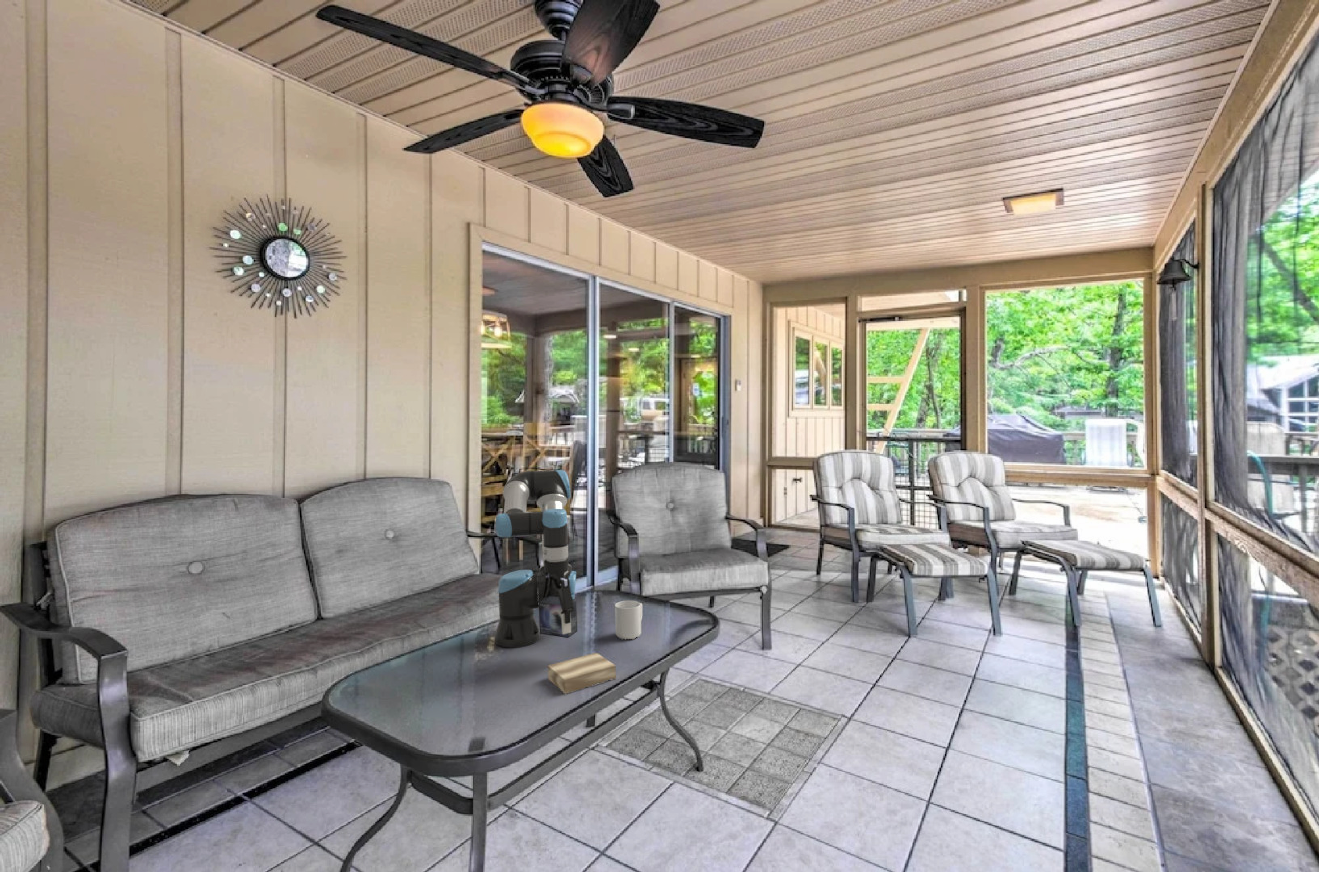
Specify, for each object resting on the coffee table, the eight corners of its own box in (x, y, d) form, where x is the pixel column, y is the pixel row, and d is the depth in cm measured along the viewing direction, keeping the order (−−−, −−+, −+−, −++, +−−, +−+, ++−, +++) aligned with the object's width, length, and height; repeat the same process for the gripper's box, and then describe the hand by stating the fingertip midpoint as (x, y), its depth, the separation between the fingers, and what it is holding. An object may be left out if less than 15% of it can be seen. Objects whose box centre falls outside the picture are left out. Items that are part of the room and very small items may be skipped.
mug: (630, 642, 204) (629, 610, 204) (610, 637, 209) (609, 605, 209) (651, 631, 214) (650, 600, 213) (631, 627, 219) (631, 596, 218)
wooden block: (548, 679, 177) (547, 665, 177) (596, 665, 186) (596, 652, 186) (565, 694, 167) (565, 679, 167) (615, 679, 176) (615, 665, 176)
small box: (538, 634, 189) (537, 601, 188) (549, 627, 195) (548, 595, 194) (567, 638, 185) (566, 605, 184) (578, 631, 191) (577, 598, 190)
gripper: (530, 553, 197) (532, 618, 198) (561, 569, 177) (563, 641, 178) (551, 549, 201) (553, 614, 202) (584, 565, 181) (586, 636, 182)
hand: (558, 627), depth 190 cm, fingers closed on small box, 12 cm apart
